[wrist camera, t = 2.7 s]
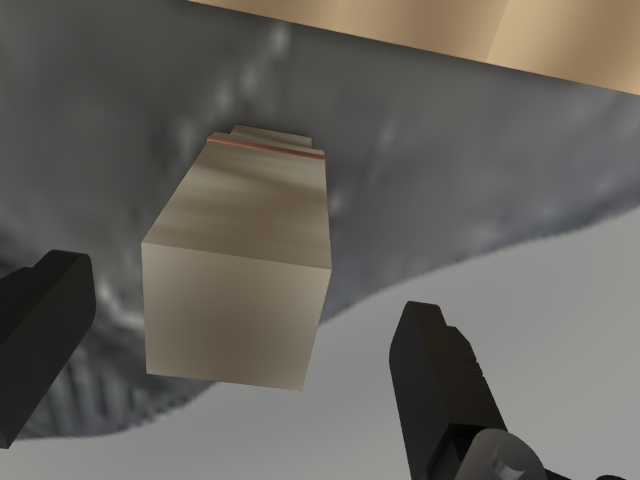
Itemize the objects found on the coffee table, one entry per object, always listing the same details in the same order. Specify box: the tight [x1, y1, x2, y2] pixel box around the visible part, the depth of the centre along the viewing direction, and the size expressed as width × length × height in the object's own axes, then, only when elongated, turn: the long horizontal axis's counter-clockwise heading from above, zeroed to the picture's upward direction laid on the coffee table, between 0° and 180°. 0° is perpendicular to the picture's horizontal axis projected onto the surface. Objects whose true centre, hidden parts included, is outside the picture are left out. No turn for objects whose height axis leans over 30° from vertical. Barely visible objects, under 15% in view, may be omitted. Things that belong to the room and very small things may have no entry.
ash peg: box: [141, 124, 332, 391], centre depth 14 cm, size 4×4×10 cm
